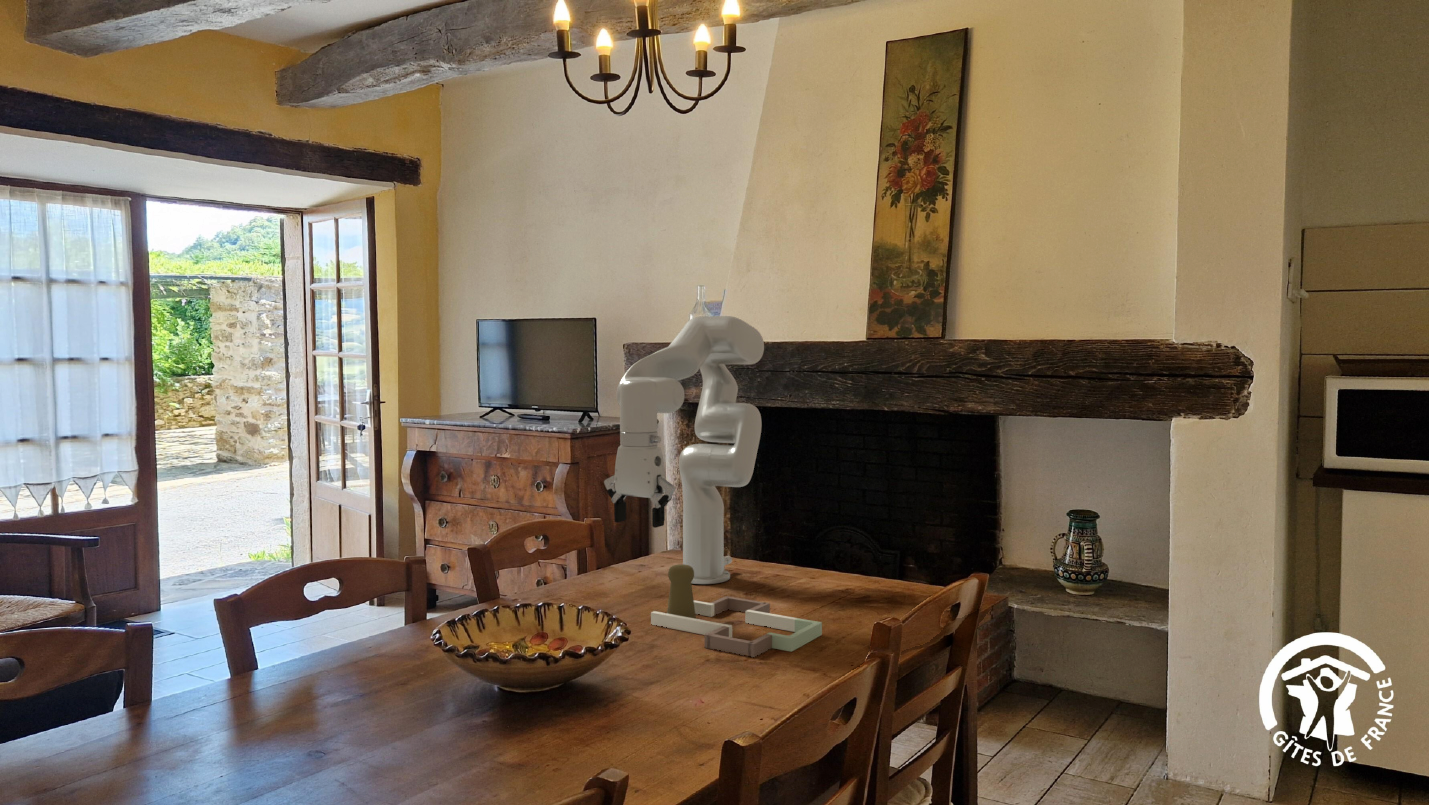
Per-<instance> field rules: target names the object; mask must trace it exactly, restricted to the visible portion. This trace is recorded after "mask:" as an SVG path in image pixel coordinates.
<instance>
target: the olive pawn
mask: <svg viewBox="0 0 1429 805" xmlns="http://www.w3.org/2000/svg"><path fill="white" fill-rule="evenodd" d="M667 571H668V572H667V574H668V580H669V582H670V586H669V587H670V588H669V595H668V603H667V610H666V613H668V614H673V615H678V616H684V617H689V618H695V619H697V617H696V615H697V614H695V607H694V593H693V592H694V591H693V586H692V585H693V584H692V583H691V582H692V580H693V578H694V570H693V568H692V567H691V566H689V565H684V564H683V563H681V564H674V565H672V566H670V567H669V568H668V570H667Z"/></svg>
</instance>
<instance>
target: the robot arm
mask: <svg viewBox="0 0 1429 805" xmlns="http://www.w3.org/2000/svg"><path fill="white" fill-rule="evenodd" d="M764 351H765V343H764V339H763V336H762V334H761V333H760V331H759V330H758V329H757V328H755V327H754V326H752V325H751V324H750V323H748V322H746V321H744V320H742V319H740V318H739V317H735V316H731V315H730V316H729V315H728V316H727V315H721V316H720V315H717V316H715V315H713V316H712V315H709V316H706V315H705V316H696V317H693V318H691V319H690V320H688V321H687V322H686V323H685V324H684V326H683V327H682V328H681V330H680V331H679V332H678V334H677V335H676V336H675V337H674V339H673V340H672V341H671V343H670V344H669V345H668V346H666V347H664V348H661V349H659V350H657V351H656V352H653V353H651V354H649V355H647V356H645V357H643V358H641V359H639V360H638V361H636V362H635V363H633V364H632V365H631V366H630V367H629V369H627V371H626V372H625V373H624V375H623V376H622V377H621V379H620V381H619V382H618V385H617V387H616V393H615V394H616V396H615V398H616V402H617V404H618V406H619V441H620V442H619V444H620V445H619V446H618V448H617V453H616V458H615V465H614V466H615V467H614V474H613V475H612V476H610V477H608V478H606V479H604V481H603V483H604V486H605V488H606V490H607V492H606V493H607V494H608V496H609V497H610V498H611V502H612V503H613V504H614V505H613V512H614V513H613V517H614V522H615V523H622V522H625V521H627V501H625V499H626V497H636V498H637V497H638V498H646V499H647V498H648V499H650V501H651V502H652V504H653V506H654V507H652V511H651V512H652V515H651V516H652V517H651V520H652V521H651V522H652V523H651V524H652V525H651V526H652V528H660V527H664V526H665V521H666V519H665V516H666V515H665V514H666V513H665V508H666V506H668V503H669V502H670V501H671V500H672V499H673V498H672V497H673V495H674V493H675V491H676V486H675V485H674V484H672V483H671V482H670V481H668V480H667V479H666V470H665V463H664V457H663V452H662V448H661V447H658V444H659V443H661V442H662V436H660V435H658V414H671V413H672V414H673V413H674V412H676V411H678V410H679V409H681V407H682V406H683V403H684V401H685V390H684V387H683V385H682V384H681V382H680V381H681V380H684V379H687V378H690V377H693V376H694V375H696V374H697V372H698V371H699V370H700V374H701V378H702V389H701V393H700V397H699V402H698V406H697V411H696V414H695V415H696V416H695V422H694V433H695V436H696V437H697V438H698V439H700V440H702V441H705V442H707V443H695V444H690V445H687V446H685V448H683V450H681V451H680V454H679V457H678V470H679V474H680V475H679V476H680V480H681V482H680V483H681V487H682V489H681V490H682V507H683V508H682V564H684V565H689V566H691V567H692V568H693V570H694V578H693V580H692V582H691V584H692V585H693V584H694V585H712V584H713V585H714V584H720V583H724V582H727V581H728V580H730V579H731V572H729V571H728V570H726V569H725V567H726V566H727V565H730V564H731V563H732V562H733V560H732V557H731V556H730V555H726V556H724V555H725V554H724V547H725V546H724V543H725V541H724V540H725V539H724V531H725V530H724V529H725V528H724V520H725V518H724V513H725V506H724V501H723V498H722V496H721V494H720V492H719V491H718V489H717V488H716V487H727V488H728V487H730V488H731V487H732V488H741V487H742V488H743V487H745V486H747V485H748V484H749V483H750V481H751V479H752V477H753V473H754V471H755V469H754V468H755V464H756V459H757V455H758V454H757V453H758V449H759V445H760V440H761V435H762V434H761V433H762V426H763V425H762V416H761V415H762V414H761V413H760V411H759V409H758V408H757V407H756V406H755V405H753V404H751V403H747V402H746V403H745V402H737V396H738V393H739V387H738V383H737V381H736V379H735V378H734V376H733V375H732V373H731V372H730V370H729V369H728V368H727V366H726V365H755V364H756V363H758V362H759V361H760V360H761V359H762V358H763V355H764ZM708 442H710V443H708ZM713 443H714V444H713ZM715 443H717V444H715ZM718 443H719V444H718ZM720 443H723V444H720ZM724 443H725V444H724ZM727 444H729V445H727ZM730 444H733V445H730Z"/></svg>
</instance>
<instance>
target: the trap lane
mask: <svg viewBox="0 0 1429 805" xmlns="http://www.w3.org/2000/svg"><path fill="white" fill-rule="evenodd" d="M693 600H694V599H693ZM694 607H695V615H698V614H700V615H699V616H705V617H710V618H712V617H714V616H717V615H718V614H721V613H723V612H722V611H724V612H725V611H728V609H729V611H735V612H739V611H741V612H740V613H745V617H744V620H745V621H744V623H745V624H748V623H749V624H748V625H753V624H754V625H755V626H760V627H764V626H767V627H766V628H770V627H771V629H776V630H777V629H778V630H783V631H786V632H787V631H788V632H793V633H791V634H789V635H787V634H780V633H777V632H776V633H775V632H771V631H769V632H767V633H766V634H763V635H761V636H759V637H757V638H756V639H753V640H748V639H747V640H746V639H742V638H741V639H740V638H735V637H733V625H732V624H727V623H721V622H715V621H712V620H711V621H709V620H704V619H699V618H696V619H695V618H689V617H684V616H678V615H673V614H668V613H667V612H666V613H665V612H661V611H656V610H653V611H651V612H650V625H651V624H652V625H651V626H656V625H657V627H661V626H663V627H662V628H666V627H667V628H666V629H673V630H677V631H683V632H686V633H687V632H688V633H694V634H698V635H703V636H704V637H703V638H704V639H703V640H704V643H703V645H704V646H703V647H705V649H708V650H709V649H710V650H714V649H717V650H716V651H719V650H721V651H720V652H724V651H725V653H729V652H732V653H731V654H734V653H736V654H735V655H739V654H740V655H739V656H744V655H748V656H751V657H750V658H753V657H754V658H756V657H758V656H759V655H762V654H763V653H765V652H767V651H769V650H771V649H775V650H776V649H777V650H781V651H784V652H785V651H786V652H790V653H791V652H793V651H796V650H797V649H799V648H801V647H803V646H804V645H806V644H808V643H809V642H811V641H813V640H815V639H817V638H819V637H820V636H822V634H823V621H817V620H816V621H815V620H809V619H805V618H798V617H793V616H787V615H781V614H776V613H771V612H770V611H771V610H770V609H771V608H770V607H771V604H770V603H769V602H765V601H758V600H753V599H747V598H740V597H734V596H730V595H729V596H727V595H726V596H723V597H721V598H718V599H716V600H713V601H711V602H707V601H700V600H694ZM716 614H717V615H716ZM768 649H769V650H768ZM761 653H762V654H761ZM757 655H758V656H757ZM748 656H747V657H748ZM755 656H756V657H755Z"/></svg>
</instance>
